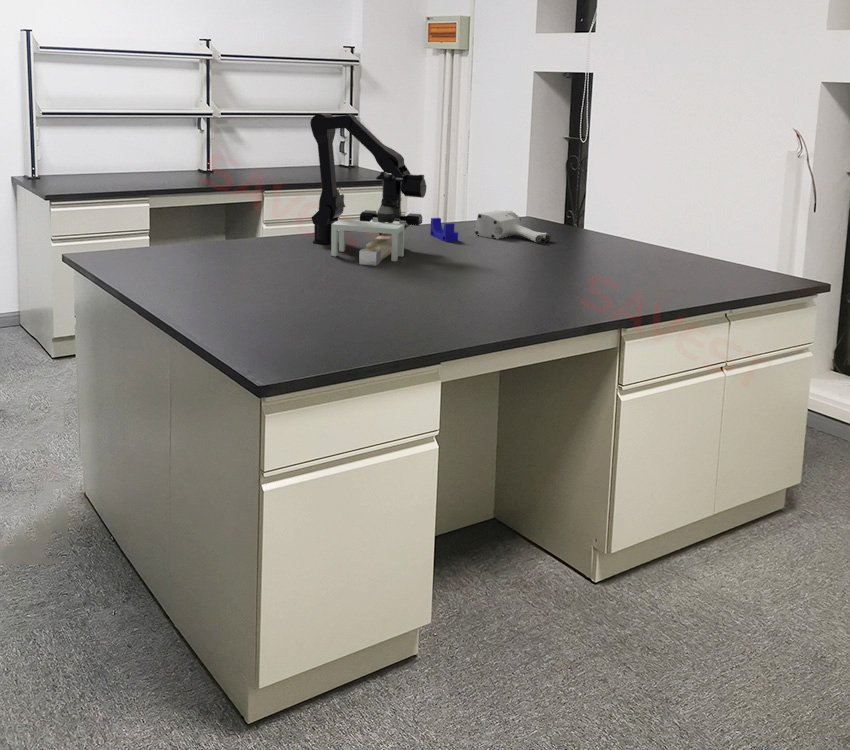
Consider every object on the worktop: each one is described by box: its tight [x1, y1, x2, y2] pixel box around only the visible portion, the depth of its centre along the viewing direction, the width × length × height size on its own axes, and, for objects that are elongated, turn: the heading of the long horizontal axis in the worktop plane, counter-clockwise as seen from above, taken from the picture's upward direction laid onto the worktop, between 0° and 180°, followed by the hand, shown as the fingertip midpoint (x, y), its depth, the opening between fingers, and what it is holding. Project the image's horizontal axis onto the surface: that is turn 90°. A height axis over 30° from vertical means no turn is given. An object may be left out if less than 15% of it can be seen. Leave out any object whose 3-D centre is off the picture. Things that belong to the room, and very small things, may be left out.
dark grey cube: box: [358, 247, 382, 267], centre depth 286 cm, size 5×5×4 cm
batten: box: [365, 233, 392, 262], centre depth 300 cm, size 4×25×5 cm, turn 168°
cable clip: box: [429, 217, 459, 243], centre depth 328 cm, size 12×4×6 cm, turn 24°
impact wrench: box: [474, 210, 552, 245], centre depth 337 cm, size 8×23×25 cm
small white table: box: [330, 219, 405, 262], centre depth 295 cm, size 20×9×10 cm, turn 77°
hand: (390, 245), depth 308 cm, fingers closed on batten, 4 cm apart
